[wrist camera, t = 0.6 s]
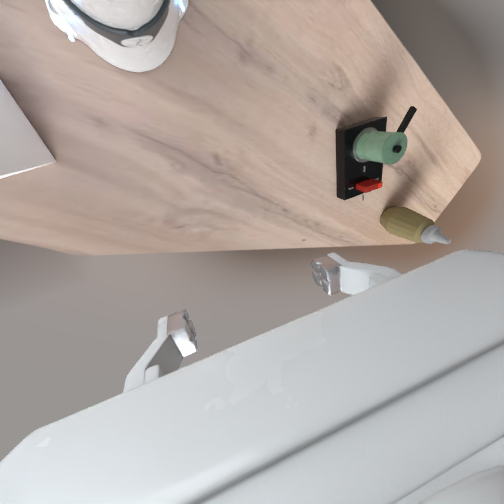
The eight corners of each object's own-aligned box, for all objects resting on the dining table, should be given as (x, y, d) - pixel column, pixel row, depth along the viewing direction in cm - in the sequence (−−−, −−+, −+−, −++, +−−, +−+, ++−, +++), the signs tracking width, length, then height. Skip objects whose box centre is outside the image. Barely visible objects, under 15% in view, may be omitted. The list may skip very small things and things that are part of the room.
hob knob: (355, 189, 58) (366, 193, 55) (355, 183, 57) (367, 187, 54) (370, 183, 59) (382, 187, 55) (371, 178, 58) (383, 181, 55)
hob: (335, 129, 52) (344, 130, 50) (376, 116, 54) (387, 116, 51) (337, 203, 62) (344, 207, 59) (371, 190, 64) (380, 193, 61)
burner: (351, 132, 50) (353, 132, 50) (379, 123, 52) (381, 123, 51) (351, 166, 54) (353, 166, 54) (377, 157, 56) (379, 157, 55)
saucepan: (356, 116, 48) (390, 115, 41) (388, 106, 50) (425, 104, 43) (355, 162, 54) (385, 169, 47) (384, 153, 55) (416, 157, 48)
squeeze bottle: (371, 224, 70) (429, 252, 55) (387, 199, 67) (452, 221, 52) (387, 231, 73) (445, 260, 58) (403, 208, 71) (468, 231, 56)
